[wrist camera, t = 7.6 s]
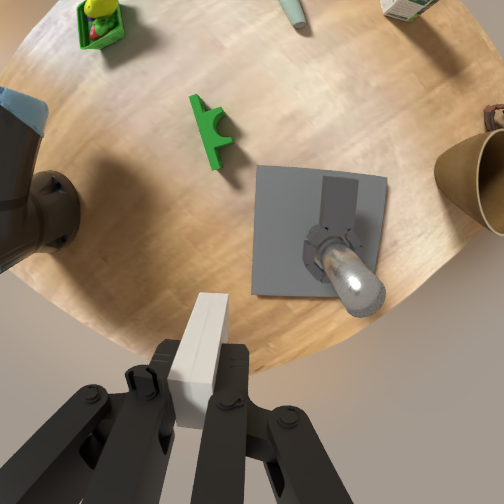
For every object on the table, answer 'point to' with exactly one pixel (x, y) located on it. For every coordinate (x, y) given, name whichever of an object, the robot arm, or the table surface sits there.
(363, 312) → the pipe
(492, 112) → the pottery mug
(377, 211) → the pipe stand
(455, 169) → the plant pot
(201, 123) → the pipe clamp
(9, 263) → the robot arm
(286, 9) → the flashlight
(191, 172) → the table surface
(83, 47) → the fruit basket
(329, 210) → the collar
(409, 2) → the syrup box
